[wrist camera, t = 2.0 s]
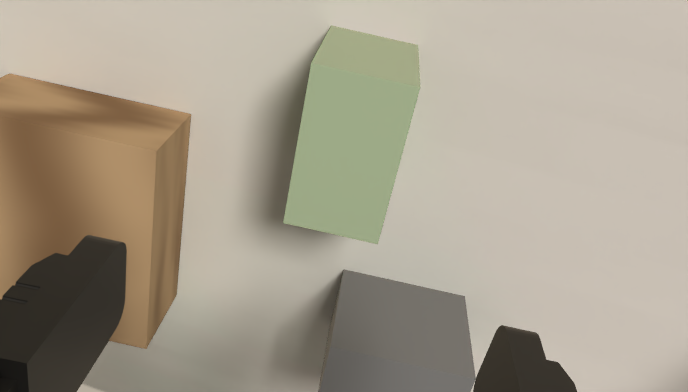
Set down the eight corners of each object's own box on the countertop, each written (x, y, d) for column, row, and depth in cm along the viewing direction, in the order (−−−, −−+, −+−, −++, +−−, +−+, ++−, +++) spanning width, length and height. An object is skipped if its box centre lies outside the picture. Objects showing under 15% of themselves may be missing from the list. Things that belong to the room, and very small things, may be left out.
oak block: (191, 114, 26) (156, 150, 22) (176, 294, 31) (146, 348, 27) (9, 73, 26) (-54, 104, 22) (23, 260, 30) (-28, 310, 27)
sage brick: (331, 25, 24) (311, 62, 19) (417, 45, 24) (420, 87, 19) (306, 160, 26) (283, 223, 22) (383, 177, 26) (377, 244, 22)
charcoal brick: (464, 295, 29) (475, 379, 24) (444, 348, 31) (451, 436, 26) (343, 268, 29) (330, 346, 24) (330, 323, 31) (315, 406, 26)
